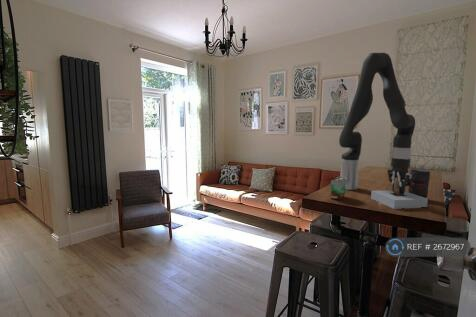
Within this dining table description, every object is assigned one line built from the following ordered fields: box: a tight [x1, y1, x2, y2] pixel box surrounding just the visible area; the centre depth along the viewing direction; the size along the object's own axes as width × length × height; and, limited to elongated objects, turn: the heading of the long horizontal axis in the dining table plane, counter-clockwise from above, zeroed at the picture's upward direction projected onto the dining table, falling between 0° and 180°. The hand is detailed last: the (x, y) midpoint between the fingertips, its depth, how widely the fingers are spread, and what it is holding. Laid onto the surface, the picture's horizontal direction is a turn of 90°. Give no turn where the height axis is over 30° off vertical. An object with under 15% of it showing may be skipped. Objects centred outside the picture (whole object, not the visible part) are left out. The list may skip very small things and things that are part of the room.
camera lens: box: [407, 168, 431, 198], centre depth 122 cm, size 8×8×15 cm
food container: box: [330, 175, 347, 200], centre depth 126 cm, size 12×6×10 cm, turn 143°
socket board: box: [370, 189, 429, 210], centre depth 118 cm, size 16×16×4 cm
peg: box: [393, 177, 404, 196], centre depth 117 cm, size 4×4×10 cm
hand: (398, 192), depth 117 cm, fingers closed on peg, 3 cm apart
